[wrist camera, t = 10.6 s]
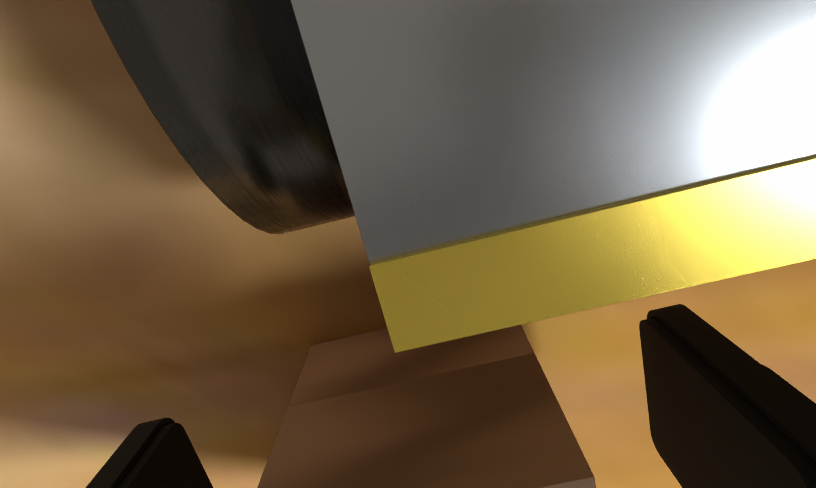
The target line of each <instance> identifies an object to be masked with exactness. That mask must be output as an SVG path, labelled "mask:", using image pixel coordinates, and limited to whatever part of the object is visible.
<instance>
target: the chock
mask: <svg viewBox="0 0 816 488" xmlns="http://www.w3.org/2000/svg"><path fill="white" fill-rule="evenodd" d="M257 488H596V485H595V479H594V475H593V473H592V471H591V469H590V467H589V465H588V463H587V461H586V459H585V457H584V455H583V453H582V451H581V449H580V446H579V444H578V442H577V440H576V438H575V436H574V434H573V432H572V430H571V428H570V426H569V424H568V422H567V420H566V418H565V415H564V413H563V411H562V409H561V407H560V405H559V403H558V401H557V399H556V397H555V395H554V393H553V391H552V389H551V387H550V385H549V382H548V380H547V378H546V376H545V374H544V372H543V370H542V368H541V366H540V364H539V362H538V360H537V358H536V356H535V354H534V351H533V349H532V347H531V345H530V343H529V341H528V339H527V337H526V335H525V333H524V331H523V329H522V327H521V325H517V326H512V327H508V328H503V329H499V330H494V331H490V332H485V333H481V334H476V335H472V336H467V337H463V338H458V339H454V340H450V341H445V342H441V343H436V344H432V345H427V346H423V347H418V348H414V349H409V350H405V351H400V352H396V353H395V351H394V348H393V345H392V342H391V338H390V335H389V332H388V328H384V329H379V330H375V331H371V332H366V333H362V334H358V335H354V336H349V337H345V338H341V339H336V340H332V341H328V342H323V343H319V344H315V345H311V347H310V349H309V352H308V355H307V357H306V360H305V363H304V365H303V368H302V371H301V373H300V376H299V379H298V381H297V384H296V387H295V389H294V392H293V395H292V397H291V400H290V403H289V405H288V408H287V410H286V413H285V416H284V418H283V421H282V424H281V426H280V429H279V432H278V434H277V437H276V440H275V442H274V445H273V448H272V450H271V453H270V456H269V458H268V461H267V464H266V466H265V469H264V472H263V474H262V477H261V479H260V482H259V485H258V487H257Z"/></svg>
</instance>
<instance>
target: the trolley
mask: <svg viewBox="0 0 816 488" xmlns="http://www.w3.org/2000/svg"><path fill="white" fill-rule="evenodd" d="M91 1H92V3H93V5H94V7H95V10H96V12H97V14H98V16H99V18H100V20H101V22H102V24H103V26H104V28H105V30H106V31H107V33H108V35H109V37H110V39H111V41H112V43H113V45H114V47H115V49H116V51H117V52H118V54H119V56H120V58H121V60H122V62H123V64H124V66H125V68H126V69H127V71H128V73H129V74H130V76H131V78H132V79H133V81H134V83H135V84H136V86H137V88H138V89H139V91H140V93H141V94H142V96H143V98H144V99H145V101H146V103H147V105H148V106H149V108H150V110H151V111H152V113H153V114H154V116H155V117H156V119H157V120H158V122H159V123H160V125H161V126H162V128H163V129H164V130H165V132H166V133H167V135H168V136H169V138H170V139H171V141H172V142H173V144H174V145H175V147H176V148H177V149H178V151H179V152H180V154H181V155H182V156H183V157H184V159H185V160H186V161H187V162H188V164H189V165H190V166H191V167H192V169H193V170H194V171H195V172H196V174H197V175H198V176H199V178H200V179H201V180H202V181H203V182H204V183H205V184H206V186H207V187H208V188H209V189H210V190H211V191H212V192H213V193H214V194H215V195H216V196H217V197H218V198H219V199H220V200H221V201H222V203H223V204H225V205H226V206H227V207H228V208H229V209H230V210H232V211H233V212H234V213H235V214H236V215H237V216H239V217H240V218H241V219H242V220H244V221H245V222H247V223H249V224H250V225H252V226H253V227H255V228H257V229H259V230H262V231H264V232H267V233H270V234H284V233H288V232H292V231H296V230H300V229H304V228H308V227H312V226H316V225H320V224H324V223H328V222H332V221H336V220H340V219H344V218H348V217H352V216H356V220H357V223H358V226H359V230H360V233H361V236H362V240H363V243H364V246H365V250H366V253H367V256H368V260H369V268H370V272H371V275H372V278H373V282H374V285H375V288H376V292H377V295H378V298H379V302H380V305H381V308H382V312H383V315H384V318H385V322H386V325H387V328H388V332H389V335H390V338H391V342H392V345H393V348H394V351H395V353H396V352H400V351H405V350H409V349H414V348H418V347H423V346H427V345H432V344H436V343H441V342H445V341H450V340H454V339H458V338H463V337H467V336H472V335H476V334H481V333H485V332H490V331H494V330H499V329H503V328H508V327H512V326H517V325H521V324H525V323H530V322H534V321H539V320H543V319H548V318H552V317H557V316H561V315H566V314H570V313H575V312H579V311H584V310H588V309H592V308H597V307H601V306H606V305H610V304H615V303H619V302H624V301H628V300H633V299H637V298H642V297H646V296H651V295H655V294H659V293H664V292H668V291H673V290H677V289H682V288H686V287H691V286H695V285H700V284H704V283H709V282H713V281H718V280H722V279H726V278H731V277H735V276H740V275H744V274H749V273H753V272H758V271H762V270H767V269H771V268H776V267H780V266H785V265H789V264H793V263H798V262H802V261H807V260H811V259H816V0H91Z"/></svg>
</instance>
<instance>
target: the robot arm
mask: <svg viewBox="0 0 816 488" xmlns="http://www.w3.org/2000/svg"><path fill="white" fill-rule="evenodd" d="M639 328H640V338H641V347H642V356H643V366H644V375H645V384H646V393H647V403H648V412H649V421H650V431H651V436H652V440H653V442H654V445H655V447H656V449H657V451H658V453H659V455H660V456H661V457H662V459H663V460H664V462H665V463H666V465H667V466H668V468H669V469H670V470H671V472H672V473H673V475H674V476H675V478H676V479H677V480H678V482H679V483H680V485H681V486H682V488H816V404H815V403H814V402H813V401H811V400H810V399H809V398H808V397H806V396H805V395H804V394H802V393H801V392H800V391H798V390H797V389H796V388H794V387H793V386H792V385H791V384H789V383H788V382H787V381H785V380H784V379H783V378H781V377H780V376H779V375H777V374H776V373H775V372H774V371H772V370H771V369H769V368H767V367H766V366H764V365H761V364H760V363H758V362H757V361H756V360H755V359H753V358H752V357H751V356H749V355H748V354H747V353H745V352H744V351H743V350H742V349H740V348H739V347H738V346H736V345H735V344H734V343H733V342H731V341H730V340H729V339H727V338H726V337H725V336H723V335H722V334H721V333H720V332H718V331H717V330H716V329H714V328H713V327H712V326H711V325H709V324H708V323H707V322H705V321H704V320H703V319H701V318H700V317H699V316H698V315H696V314H695V313H694V312H692V311H691V310H690V309H688V308H687V307H686V306H684V305H682V304H678V305H673V306H669V307H664V308H660V309H655V310H651V311H649V312H648V315H647V319H646V320H642V321H641V322H640V325H639ZM86 488H213V486H212V484H211V482H210V480H209V478H208V476H207V474H206V472H205V470H204V468H203V466H202V464H201V462H200V460H199V458H198V456H197V454H196V452H195V450H194V448H193V446H192V444H191V442H190V440H189V438H188V436H187V434H186V432H185V430H184V428H183V426H182V425H181V424H179V423H175V422H174V421H173V420H172V419H171V418H163V419H158V420H154V421H149V422H145V423H141V424H138V425H137V426H136V427H135V428H134V429H133V430H132V431H131V433H130V434H129V435H128V436H127V438H126V439H125V440H124V441H123V442H122V444H121V445H120V446H119V447H118V449H117V450H116V451H115V452H114V454H113V455H112V456H111V457H110V458H109V460H108V461H107V462H106V463H105V465H104V466H103V467H102V468H101V470H100V471H99V472H98V473H97V474H96V476H95V477H94V478H93V479H92V481H91V482H90V483H89V484H88V486H87V487H86Z"/></svg>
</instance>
